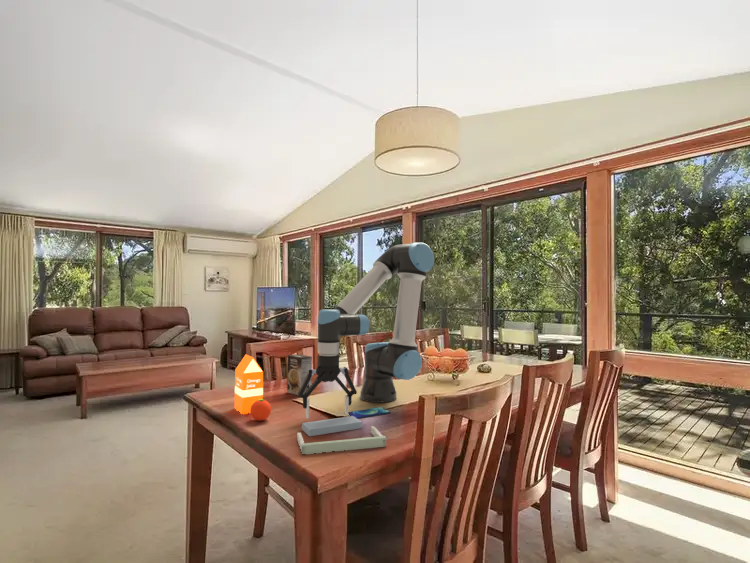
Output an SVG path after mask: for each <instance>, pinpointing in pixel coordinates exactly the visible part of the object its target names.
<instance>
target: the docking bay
mask: <svg viewBox="0 0 750 563" xmlns="http://www.w3.org/2000/svg"><path fill="white" fill-rule="evenodd" d="M370 434H371V435H372V436H370V437H369V436H368V437H358V438H348V439H346V438H345V439H338V440H326V441H324V440H323V441H316V442H306V443H305V441H304V437H303V435H302V432H301V431H300V432H297V434H296V435H297V436H296V440H297V443H298V446H300V447H299V450H300V449H301V450H300V452H302V453H301V455H302V454H306V455H315V454H314V453H316V454H323V453H322V452H326V453H333V452H332V451H335V452H345V451H353V450H355V451H356V450H364V449H375V448H385V447H387V437H386V436H385V435H383V434H382V433H381V432H380V430H378V429H377V428H376V427H375V425H373V426H370ZM344 450H345V451H344Z"/></svg>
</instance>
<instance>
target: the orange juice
mask: <svg viewBox="0 0 750 563" xmlns="http://www.w3.org/2000/svg"><path fill="white" fill-rule="evenodd" d="M234 371H235V372H234V373H235V375H234V408H235V409H236V410H235V409H234V410H235V411H237V412H238V411H239V412H240V414H241V415H242V414H243V415H248V413H249V414H251V413H250V410H251V406H252V404H253V403H254V402H256V401H257V400H259V399H263V400H264V398H263V397H264V371H263V370H262V368H261V367H260V365H259V364H258V362H257V361H256V359H255V358H254V356H251V355H249V354H245V355H244V356H243V358H242V359H241V361H240V362H239V363H238V365H237V367H235V369H234ZM239 412H238V413H239Z"/></svg>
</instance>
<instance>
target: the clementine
mask: <svg viewBox="0 0 750 563" xmlns="http://www.w3.org/2000/svg"><path fill="white" fill-rule="evenodd" d="M271 413H272V405H271V403H270V402H268V400H266V399H264V398H263V399H259V400H257V401H256V402H254V403H253V404H252V406H251V410H250V413H249V414H250V416H251V417H252V418H253V419H254V420H255V421H259V422H262V421H265V420H267V419H268V418H269V416H270V415H271Z"/></svg>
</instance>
